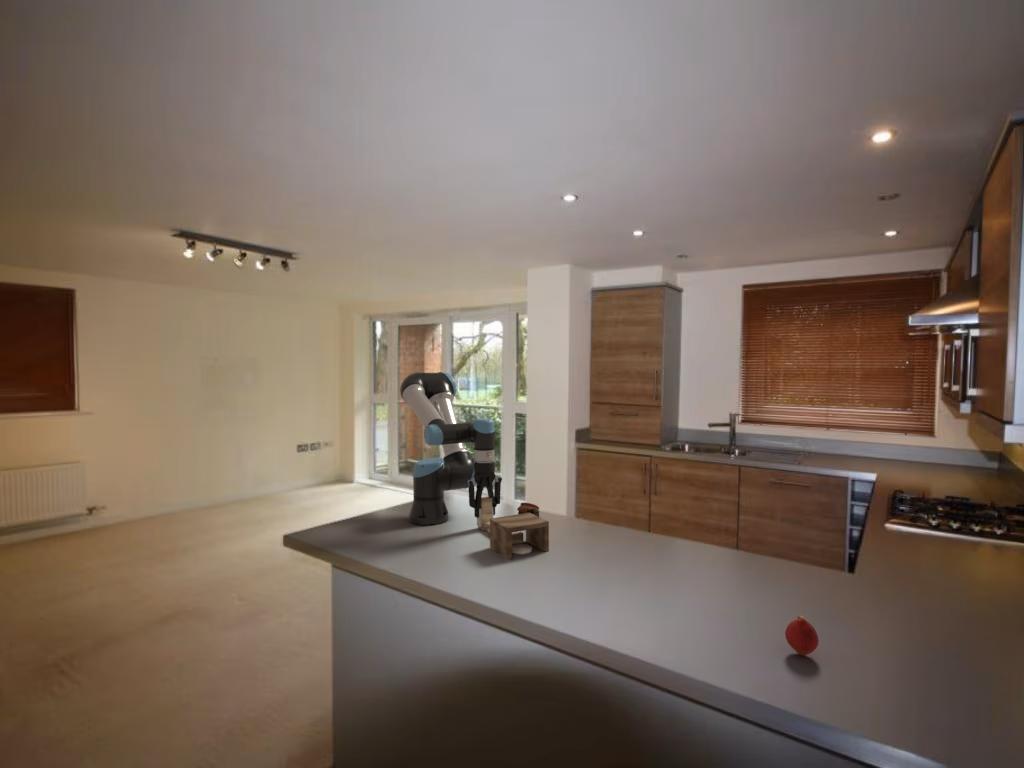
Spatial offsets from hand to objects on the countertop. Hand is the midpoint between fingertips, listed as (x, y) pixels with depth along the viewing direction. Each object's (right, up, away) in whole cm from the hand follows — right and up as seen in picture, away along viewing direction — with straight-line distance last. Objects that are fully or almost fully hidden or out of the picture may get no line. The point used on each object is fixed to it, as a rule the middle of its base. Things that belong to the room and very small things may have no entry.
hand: (485, 524), depth 189 cm
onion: (+69, -4, -84) cm, 109 cm away
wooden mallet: (+5, -1, -8) cm, 10 cm away
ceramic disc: (+13, -2, -23) cm, 26 cm away
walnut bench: (+12, -2, -22) cm, 25 cm away
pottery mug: (+16, -1, +8) cm, 18 cm away
